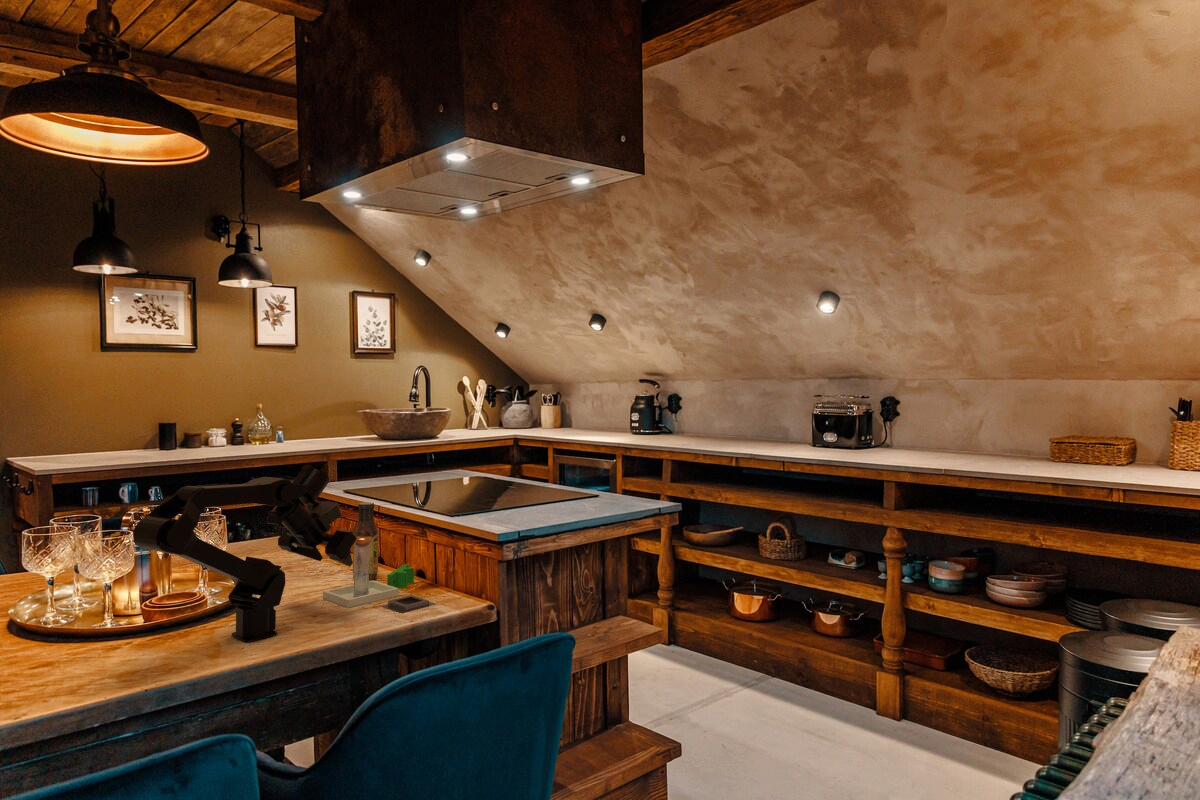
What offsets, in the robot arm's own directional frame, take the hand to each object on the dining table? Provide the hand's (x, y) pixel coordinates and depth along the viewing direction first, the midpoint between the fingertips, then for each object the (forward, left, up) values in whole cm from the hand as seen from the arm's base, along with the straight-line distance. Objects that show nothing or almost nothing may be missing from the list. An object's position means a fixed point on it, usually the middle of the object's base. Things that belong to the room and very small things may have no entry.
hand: (335, 562), depth 170 cm
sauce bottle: (+19, +17, -11) cm, 27 cm away
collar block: (+12, -11, -10) cm, 19 cm away
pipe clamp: (+21, +4, -11) cm, 24 cm away
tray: (+8, +2, -10) cm, 13 cm away
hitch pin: (+8, +2, -10) cm, 13 cm away
